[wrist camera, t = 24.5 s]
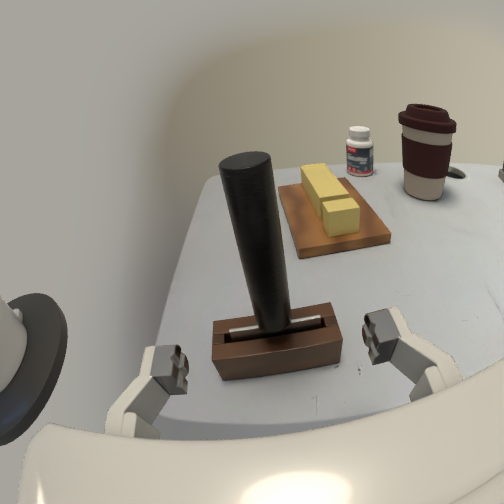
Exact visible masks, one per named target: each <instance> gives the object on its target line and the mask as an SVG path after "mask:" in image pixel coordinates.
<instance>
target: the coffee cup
mask: <svg viewBox="0 0 504 504" xmlns="http://www.w3.org/2000/svg"><path fill="white" fill-rule="evenodd" d="M398 116H399V117H398V118H399V123H400V124H402V129H403V133H402V156H403V168H404V189H405V190H406V192H407V193H408V194H410V195H411V196H413V197H416V198H419V199H423V200H436V199H438V198H440V197H441V195H442V192H443V188H444V183H445V178H446V176H447V173H448V168H449V162H450V156H451V150H452V142H451V140H452V134H453V133H455V132H456V122H455V121H454V120H452V119H450V118H449V115H448V112H447V111H446V110H444V109H442V108H439V107H435V106H430V105H423V104H409V105H408V106H407V108H406V111H402V112H400V113H399V114H398Z"/></svg>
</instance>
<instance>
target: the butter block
mask: <svg viewBox="0 0 504 504" xmlns="http://www.w3.org/2000/svg"><path fill="white" fill-rule="evenodd" d="M300 169H301V179H302V186H303V188H304V190H305V191H306V193H307V195H308V197H309V199H310V201H311V203H312V205H313V207H314V209H315V211H316V213H317V215H318V217H319V218H320V220H321V221H323V208H322V202H326V201H332V200H339V199H347V198H349V193H348V192H347V190H346V189H345V188H344V187H343V185H342V184H341V183H340V182H339V180H338V179H337V178H336V177H335V176H334V174H333V173H332V172H331V171H330V170H329V169H328V167H327V166H326V165H325V164H324V163H319V164H311V165H304V166H300Z"/></svg>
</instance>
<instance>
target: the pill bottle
mask: <svg viewBox="0 0 504 504" xmlns="http://www.w3.org/2000/svg"><path fill="white" fill-rule="evenodd" d="M349 136H350V138H349V139H347V141H346V151H347V171H348V173H350V174H352V175H354V176H369V175H371V174H372V173H373V142H372V140H371V139H369V137H370V129H369V128H367V127H361V126H354V127H350V128H349Z"/></svg>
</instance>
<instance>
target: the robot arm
mask: <svg viewBox="0 0 504 504" xmlns="http://www.w3.org/2000/svg"><path fill="white" fill-rule="evenodd" d="M22 320H23V314H22V312H21V311H20V310H19V309H14V310H12V309H11V308H10V307H9V306H8V304H7V303H6V302H5V301H4V300H3V299H2V297H1V296H0V392H1V391H3V390H4V389H5V387H6V386H7V385H8V384H9V383H10V381H11V380H12V378H13V377H14V375H15V374H16V372H17V370H18V368H19V366H20V364H21V362H22V359H23V356H24V353H25V350H26V345H27V332H26V329H25V327H24V325H23V323H22ZM364 321H365V324H364V325H363V327H362V336H363V340H364V343H365V345H366V346H367V347H369V352H368V354H369V357H370V360H371V363H372V365H376V364H380V363H384V362H387V361H390V363H392V364H393V365H394V366H395V367H396V368H397V369H399V370H400V371H401V372H402V373H403V374H404V375H405V376H407V377H408V378H409V379H410V380H411V381H412V382H414V383H415V384H416V385H415V387H414V388H413V390H412V391H411V393H410V395H409V397H410V400H411V402H410V403H407V404H405V405H402V406H399V407H396V408H393V409H390V410H387V411H384V412H381V413H377V414H374V415H371V416H367V417H364V418H360V419H356V420H353V421H349V422H344V423H340V424H336V425H332V426H327V427H322V428H317V429H312V430H307V431H301V432H295V433H289V434H281V435H274V436H266V437H256V438H245V439H230V440H201V441H199V440H198V441H196V440H194V441H193V440H191V441H190V440H189V441H188V440H160V432H159V430H157V429H156V428H154V427H153V426H152V423H153V422H154V420H155V419H156V417H157V416H158V414H159V412H160V411H161V409H162V408H163V406H164V405H165V403H166V402H167V400H168V399H169V397H170V395H182V394H187V385H188V381H187V380H186V379H185V377H186V376H187V374H188V373H189V365H188V360H187V357H186V356H185V354H183V353H181V348H180V346H179V345H164V346H147V347H146V349H145V351H144V356H143V360H142V365H141V370H140V375H139V377H136V378H135V379H134V380H133V382H132V383H131V384H130V385H129V386H128V387H127V389H126V390H125V391H124V392H123V393H122V394H121V395H120V397H119V398H118V399H117V400H116V401H115V402H114V404H113V405H112V406H111V407H110V408H109V409H108V413H107V418H106V423H105V429H104V434H103V433H97V432H91V431H86V430H80V429H75V428H71V427H66V426H62V425H58V424H54V423H48V424H46V425H45V426H43V427H42V428H41V429H40V430H39V431H38V432H37V433H36V434H35V435H34V436H33V437H32V438H31V440H30V441H29V444H28V446H27V449H26V452H25V456H24V461H23V465H22V470H21V476H20V482H19V490H18V501H17V504H504V358H503V359H501V360H499V361H498V362H496V363H494V364H492V365H491V366H489V367H487V368H485V369H483V370H482V371H480V372H478V373H476V374H474V375H472V376H470V377H468V378H466V379H464V380H463V378H462V376H461V374H460V371H459V369H458V367H457V365H456V363H455V361H454V359H453V357H452V356H450V355H449V354H447V353H445V352H444V351H442V350H441V349H439V348H438V347H436V346H435V345H433V344H432V343H430V342H428V341H427V340H425V339H424V338H422V337H421V336H419V335H417V334H416V333H413V334H412V332H411V330H410V328H409V326H408V324H407V322H406V320H405V318H404V316H403V315H402V313H401V311H400V309H399V307H397V306H394V307H391V308H387V309H382V310H378V311H374V312H371V313H367V314H365V316H364Z"/></svg>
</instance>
